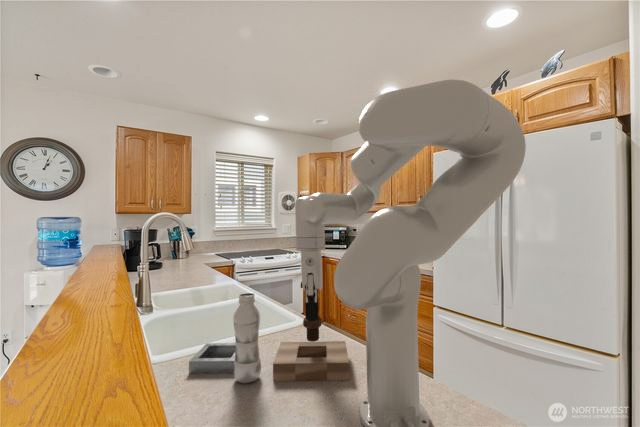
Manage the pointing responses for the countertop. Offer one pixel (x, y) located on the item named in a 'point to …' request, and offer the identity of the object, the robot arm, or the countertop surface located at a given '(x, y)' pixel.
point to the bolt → (312, 324)
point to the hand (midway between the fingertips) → (312, 315)
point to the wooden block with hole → (311, 361)
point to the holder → (213, 359)
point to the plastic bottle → (246, 340)
